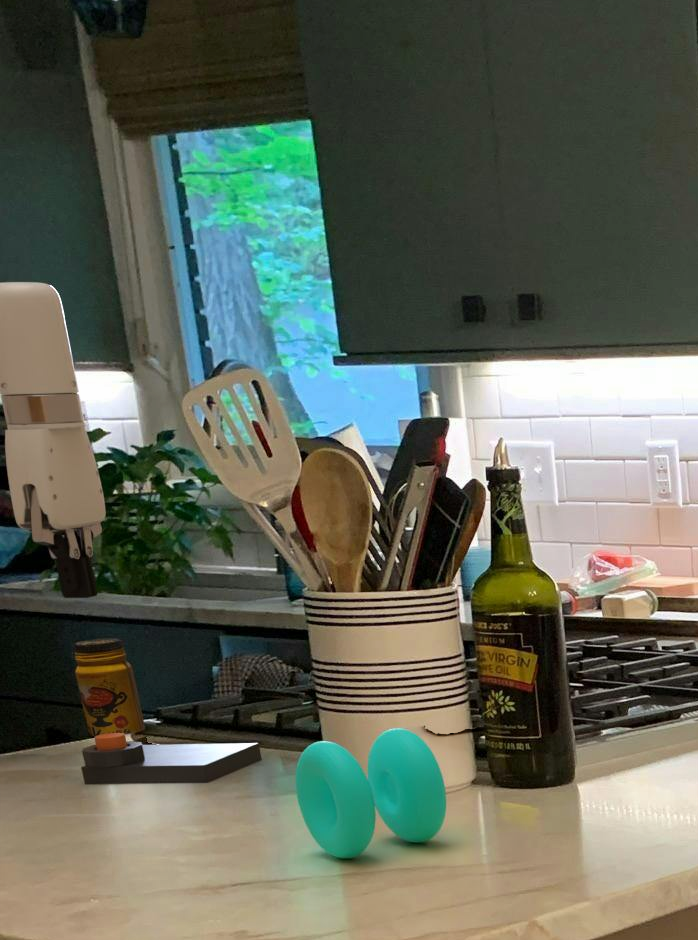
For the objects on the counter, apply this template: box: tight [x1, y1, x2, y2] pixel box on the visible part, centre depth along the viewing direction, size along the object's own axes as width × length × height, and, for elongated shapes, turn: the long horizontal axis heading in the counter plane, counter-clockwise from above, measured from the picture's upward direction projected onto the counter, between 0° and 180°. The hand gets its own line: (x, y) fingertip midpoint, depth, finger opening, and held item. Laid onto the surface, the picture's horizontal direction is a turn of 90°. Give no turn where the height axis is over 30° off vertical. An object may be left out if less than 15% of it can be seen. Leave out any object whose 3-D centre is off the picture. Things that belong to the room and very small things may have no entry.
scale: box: [80, 740, 262, 785], centre depth 207 cm, size 14×12×4 cm
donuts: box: [295, 727, 447, 859], centre depth 168 cm, size 10×10×10 cm
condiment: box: [73, 638, 158, 745], centre depth 221 cm, size 7×8×12 cm
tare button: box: [93, 733, 127, 750], centre depth 204 cm, size 3×3×2 cm
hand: (80, 596), depth 209 cm, fingers closed
